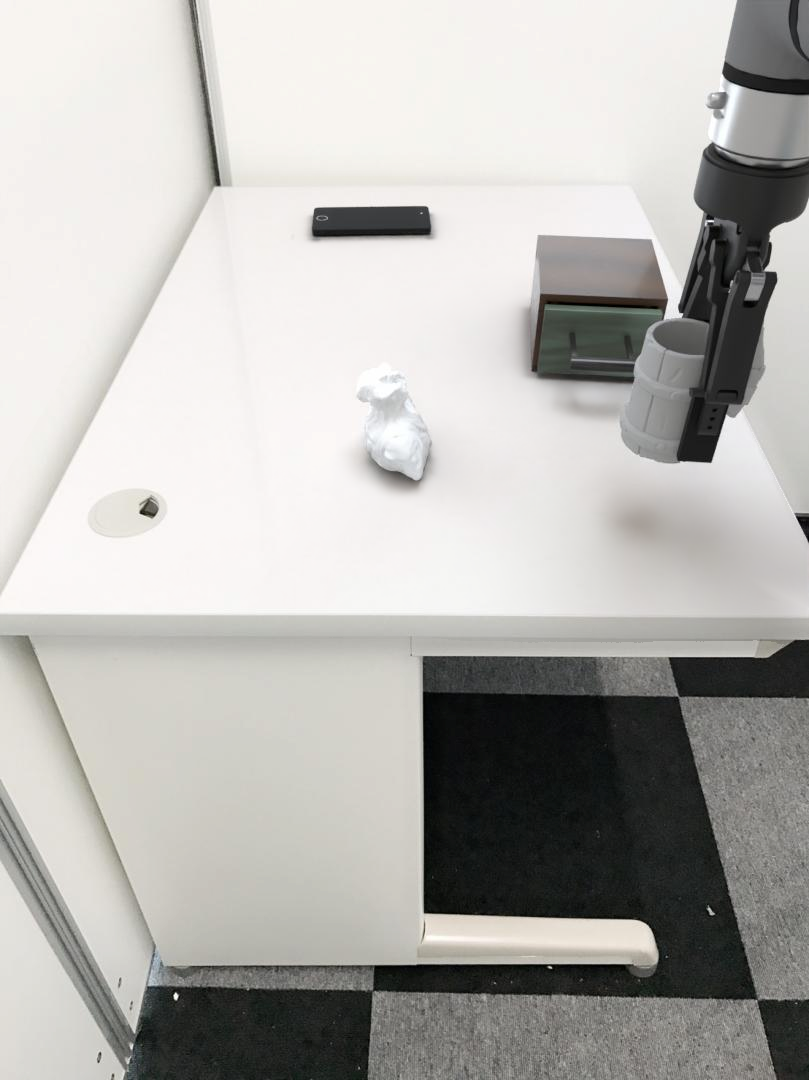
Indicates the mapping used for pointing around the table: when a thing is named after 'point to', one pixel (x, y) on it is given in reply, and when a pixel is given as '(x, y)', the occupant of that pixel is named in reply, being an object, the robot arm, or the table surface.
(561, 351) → the drawer
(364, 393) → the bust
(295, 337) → the table surface
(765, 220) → the robot arm
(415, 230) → the cell phone
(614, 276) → the cabinet
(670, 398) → the mug
